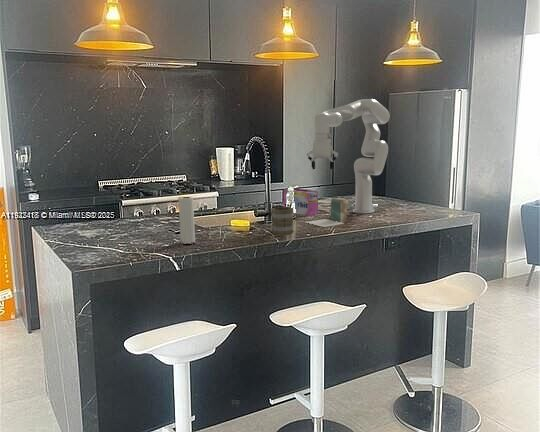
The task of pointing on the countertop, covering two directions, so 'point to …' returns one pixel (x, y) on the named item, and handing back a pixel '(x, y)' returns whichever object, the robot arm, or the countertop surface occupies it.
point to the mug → (282, 220)
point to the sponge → (339, 210)
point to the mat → (324, 223)
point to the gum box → (304, 201)
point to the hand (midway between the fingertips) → (322, 169)
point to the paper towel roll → (186, 219)
